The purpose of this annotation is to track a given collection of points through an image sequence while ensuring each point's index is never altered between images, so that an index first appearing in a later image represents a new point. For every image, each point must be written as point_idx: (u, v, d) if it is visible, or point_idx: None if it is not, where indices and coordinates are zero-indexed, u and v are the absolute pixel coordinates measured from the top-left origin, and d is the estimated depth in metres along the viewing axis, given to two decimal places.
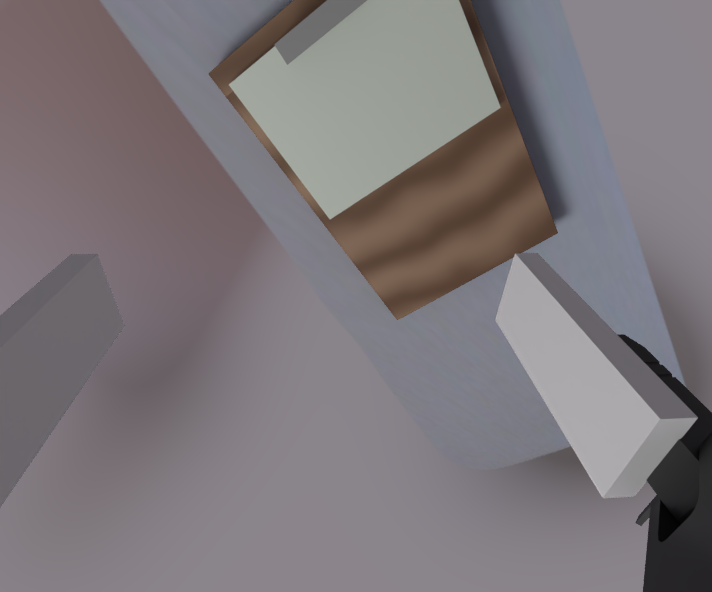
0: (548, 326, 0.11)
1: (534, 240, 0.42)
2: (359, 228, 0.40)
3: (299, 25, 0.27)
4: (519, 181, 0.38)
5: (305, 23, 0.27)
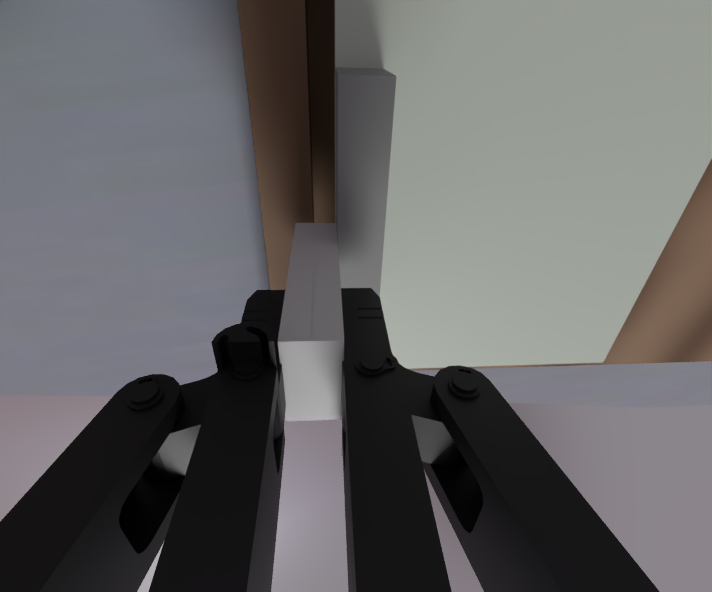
0: None
1: None
2: (632, 326, 0.20)
3: (340, 271, 0.13)
4: None
5: (344, 260, 0.13)
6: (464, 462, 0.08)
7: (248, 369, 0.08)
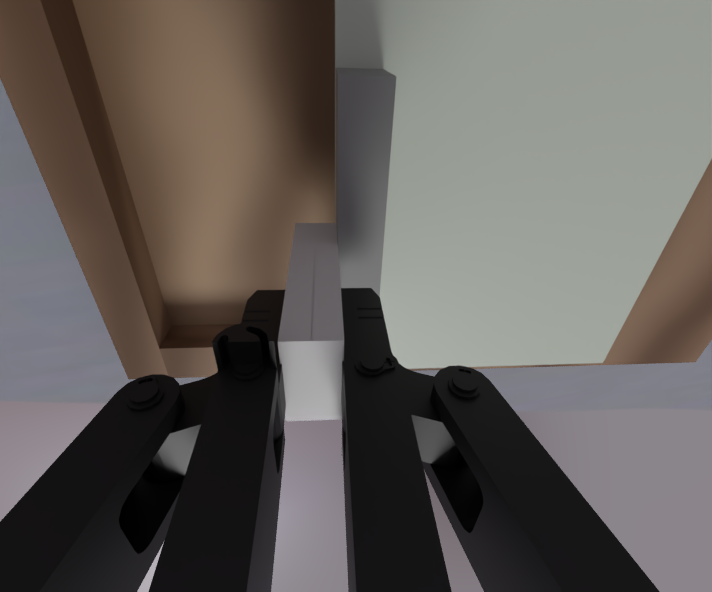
0: None
1: None
2: None
3: (340, 271, 0.13)
4: None
5: (344, 260, 0.13)
6: (464, 462, 0.08)
7: (248, 369, 0.08)
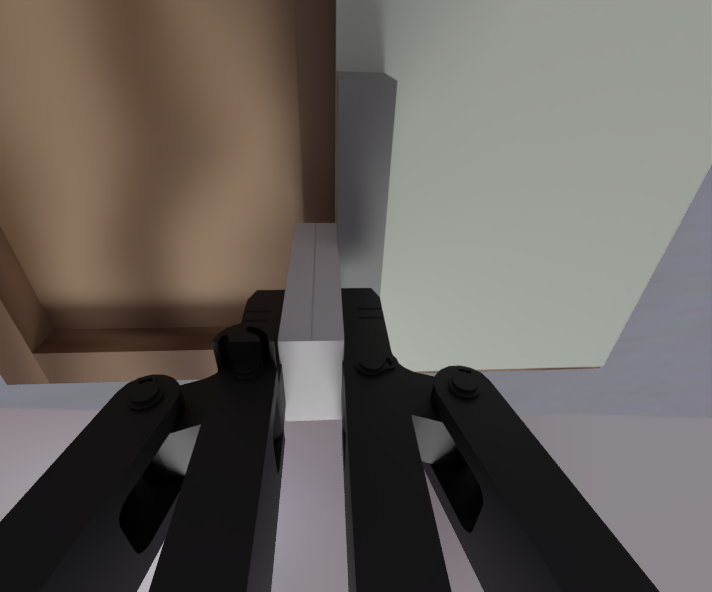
0: None
1: None
2: None
3: (340, 275, 0.13)
4: None
5: (344, 264, 0.13)
6: (464, 462, 0.08)
7: (248, 369, 0.08)
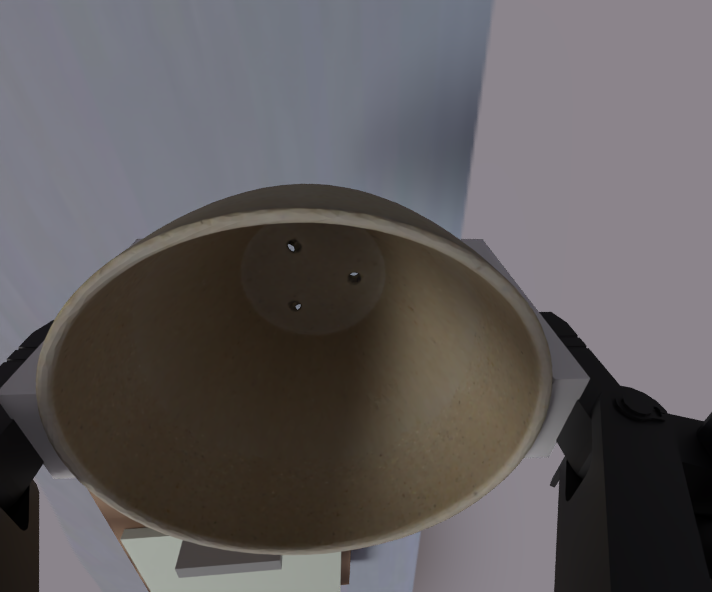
0: None
1: None
2: None
3: (204, 567, 0.30)
4: None
5: (210, 567, 0.30)
6: None
7: None
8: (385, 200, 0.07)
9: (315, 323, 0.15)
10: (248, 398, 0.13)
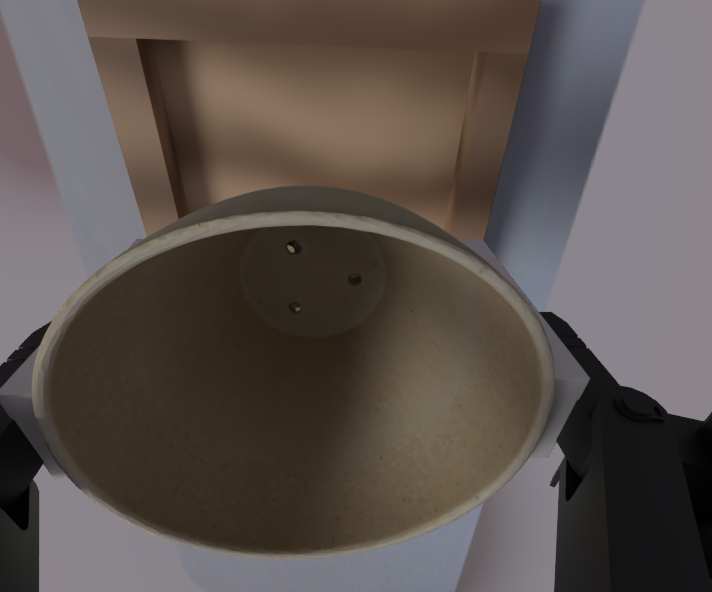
0: None
1: None
2: None
3: None
4: None
5: None
6: None
7: None
8: (386, 202, 0.07)
9: (314, 325, 0.14)
10: (247, 400, 0.13)
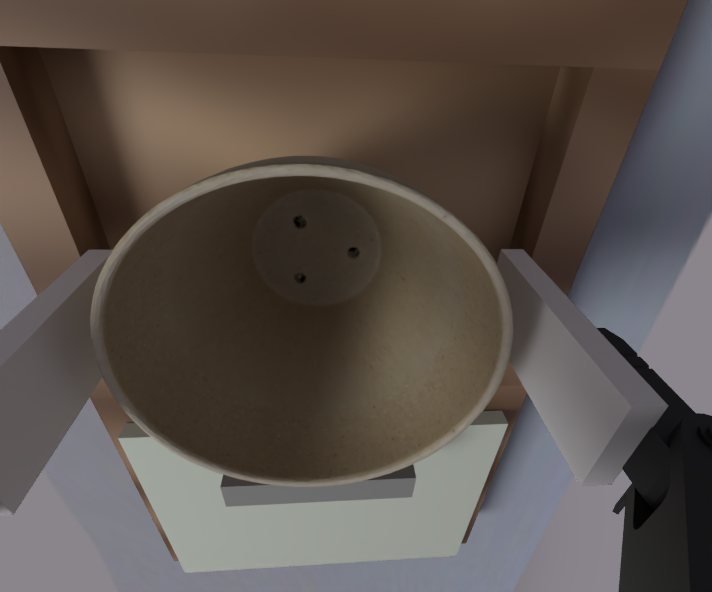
0: (531, 320, 0.11)
1: None
2: None
3: (275, 486, 0.16)
4: None
5: (286, 487, 0.16)
6: None
7: None
8: None
9: (318, 295, 0.16)
10: (257, 356, 0.14)
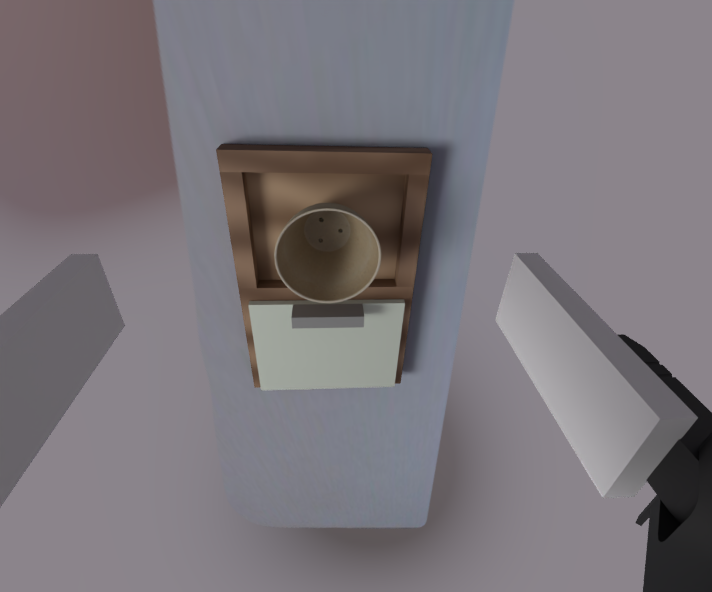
0: (548, 327, 0.11)
1: None
2: None
3: (311, 318, 0.42)
4: None
5: (315, 319, 0.42)
6: None
7: None
8: (343, 206, 0.35)
9: (327, 247, 0.43)
10: (306, 267, 0.41)
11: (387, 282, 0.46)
